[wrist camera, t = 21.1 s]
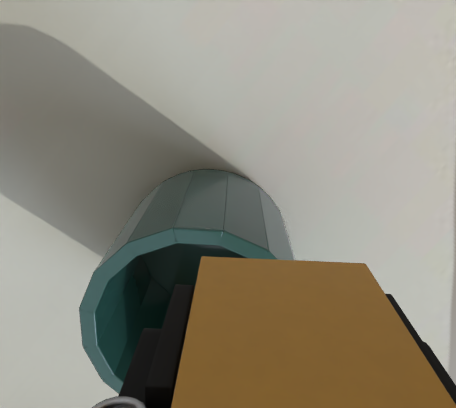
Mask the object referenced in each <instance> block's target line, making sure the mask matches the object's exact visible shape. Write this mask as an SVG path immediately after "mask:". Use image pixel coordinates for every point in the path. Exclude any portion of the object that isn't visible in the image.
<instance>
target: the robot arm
mask: <svg viewBox="0 0 456 408" xmlns="http://www.w3.org/2000/svg"><path fill="white" fill-rule="evenodd" d="M193 295H194V285H179V284H176V285H175V287H174V290H173V293H172V297H171V300H170V304H169V307H168V310H167V314H166V317H165V321H164V324H163V327H162V329H152V328H144V329H143V331H142V333H141V336H140V339H139V341H138V344H137V347H136V349H135V352H134V355H133V358H132V360H131V363H130V366H129V368H128V371H127V374H126V377H125V379H124V382H123V385H122V388H121V390H120V393H119V396H118V397H113V398H109V399H105V400H103V401H102V402H100V403H98V404H96V405H95V406H93V407H92V408H171V405H172V400H173V395H174V390H175V385H176V380H177V375H178V370H179V365H180V360H181V355H182V350H183V345H184V340H185V335H186V330H187V325H188V320H189V315H190V310H191V305H192V300H193ZM385 295H386V297H387V298H388V300H389V301H390V303H391V304H392V306H393V307H394V309H395V311H396V312H397V314H398V315H399V317H400V318H401V320H402V322H403V323H404V325H405V326H406V328H407V329H408V331H409V332H410V334H411V336H412V337H413V339H414V340H415V342H416V343H417V345H418V347H419V348H420V350H421V351H422V353H423V354H424V356H425V357H426V359H427V361H428V362H429V364H430V365H431V367H432V368H433V370H434V372H435V373H436V375H437V376H438V378H439V379H440V381H441V382H442V384H443V386H444V387H445V389H446V390H447V392H448V393H449V395H450V397H451V398H452V400H453V401H454V403H455V404H456V385H455V384H454V382H453V381H452V379H451V378H450V376H449V375H448V373H447V372H446V370H445V369H444V368H443V366H442V365H441V363H440V362H439V360H438V359H437V357H436V356H435V354H434V353H433V351H432V350H431V348H430V347H429V346H428V345H427V343H425V342H423V341H422V340H421V338H420V337H419V335H418V334H417V332H416V331H415V329H414V328H413V326H412V325H411V323H410V322H409V320H408V319H407V317H406V316H405V314H404V313H403V311H402V310H401V308H400V307H399V305H398V304H397V302H396V301H395V299H394V298H393V296H392V295H391V294H385Z"/></svg>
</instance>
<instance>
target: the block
mask: <svg viewBox="0 0 456 408" xmlns="http://www.w3.org/2000/svg"><path fill="white" fill-rule="evenodd" d="M171 408H456V404H455V403H454V401H453V400H452V398H451V397H450V395H449V393H448V392H447V390H446V389H445V387H444V386H443V384H442V382H441V381H440V379H439V378H438V376H437V375H436V373H435V372H434V370H433V368H432V367H431V365H430V364H429V362H428V361H427V359H426V357H425V356H424V354H423V353H422V351H421V350H420V348H419V347H418V345H417V343H416V342H415V340H414V339H413V337H412V336H411V334H410V332H409V331H408V329H407V328H406V326H405V325H404V323H403V322H402V320H401V318H400V317H399V315H398V314H397V312H396V311H395V309H394V307H393V306H392V304H391V303H390V301H389V300H388V298H387V297H386V295H385V293H384V292H383V290H382V289H381V287H380V286H379V284H378V282H377V281H376V279H375V278H374V276H373V275H372V273H371V271H370V270H369V268H368V267H367V265H366V264H364V263H342V262H319V261H297V260H274V259H252V258H229V257H206V256H202V257H201V261H200V266H199V271H198V276H197V281H196V286H195V290H194V295H193V300H192V305H191V310H190V315H189V320H188V325H187V330H186V335H185V340H184V345H183V350H182V355H181V360H180V365H179V370H178V375H177V380H176V385H175V390H174V395H173V400H172V405H171Z"/></svg>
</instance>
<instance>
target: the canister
mask: <svg viewBox="0 0 456 408" xmlns="http://www.w3.org/2000/svg"><path fill="white" fill-rule="evenodd" d="M202 256H206V257H229V258H252V259H274V260H295V257H294V253H293V250H292V246H291V243H290V239H289V236H288V233H287V230H286V227H285V224H284V221H283V218H282V215H281V212H280V210H279V208H278V207H277V206H276V205H275V203H274V202H273V200H272V199H271V198H270V197H269V195H267V194H266V193H265V192H264V191H263V190H262V189H261V188H260V187H259V186H257V185H256V184H254V183H253V182H251V181H249V180H248V179H246V178H244V177H242V176H239V175H237V174H234V173H230V172H226V171H222V170H213V169H201V170H194V171H188V172H185V173H181V174H178V175H176V176H174V177H171V178H169V179H168V180H165V181H163V182H162V183H161V184H160V185H159V186H157V187H156V188H155V189H154V190H153V191H152V192H151V193H150V194H149V195H148V196H147V197H146V198H145V199H144V200H142V201H141V203H140V204H139V206H138V207H137V209H136V210H135V212H134V213H133V215H132V216H131V218H130V219H129V221H128V222H127V224H126V225H125V227H124V228H123V230H122V231H121V233H120V234H119V235H118V237H117V238H116V240H115V241H114V243H113V244H112V246H111V247H110V249H109V250H108V252H107V253H106V255H105V256H104V258H103V259H102V261H101V262H100V264H99V265H98V267H97V268H96V270H95V271H94V272H93V275H92V277H91V280H90V282H89V285H88V287H87V290H86V292H85V295H84V297H83V300H82V302H81V305H80V307H79V312H80V323H81V334H82V345H83V348H84V350H85V352H86V353H87V355H88V357H89V358H90V360H91V362H92V364H93V365H94V367H95V369H96V371H97V372H98V374H99V376H100V377H101V379H102V380H103V382H105V383H106V384H107V385H108V386H110V387H111V388H112V389H113V390H115V391H116V392H117V393H118V394H119V393H120V390H121V388H122V385H123V382H124V379H125V377H126V374H127V371H128V368H129V366H130V363H131V360H132V358H133V355H134V352H135V349H136V347H137V344H138V341H139V339H140V336H141V333H142V331H143V329H144V328H152V329H162V327H163V324H164V321H165V317H166V314H167V310H168V307H169V304H170V300H171V297H172V293H173V290H174V287H175V285H176V284H179V285H194V290H195V286H196V281H197V276H198V271H199V266H200V261H201V257H202Z"/></svg>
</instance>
